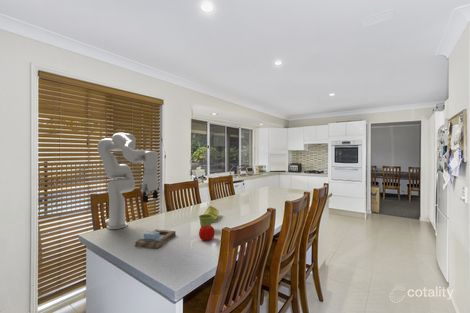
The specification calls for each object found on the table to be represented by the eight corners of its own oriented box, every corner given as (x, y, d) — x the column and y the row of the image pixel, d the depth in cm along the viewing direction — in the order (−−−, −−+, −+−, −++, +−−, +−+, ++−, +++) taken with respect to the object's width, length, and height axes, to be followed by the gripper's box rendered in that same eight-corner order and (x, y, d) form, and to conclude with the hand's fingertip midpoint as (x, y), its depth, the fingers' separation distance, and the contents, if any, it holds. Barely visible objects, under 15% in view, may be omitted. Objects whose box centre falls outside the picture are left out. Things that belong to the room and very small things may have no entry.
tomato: (206, 235, 142) (206, 223, 142) (217, 239, 136) (217, 226, 136) (195, 239, 134) (195, 227, 134) (205, 243, 129) (205, 230, 129)
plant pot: (215, 227, 156) (215, 214, 156) (210, 232, 147) (210, 218, 146) (201, 226, 158) (201, 213, 158) (196, 231, 149) (196, 217, 148)
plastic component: (216, 219, 167) (203, 213, 167) (211, 228, 168) (199, 222, 168) (219, 210, 186) (208, 204, 186) (215, 218, 187) (204, 212, 187)
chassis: (135, 246, 125) (135, 241, 125) (155, 233, 145) (155, 229, 145) (157, 248, 122) (157, 243, 122) (175, 235, 142) (175, 230, 142)
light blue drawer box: (140, 243, 128) (140, 232, 128) (144, 240, 132) (144, 229, 131) (159, 245, 125) (158, 233, 125) (162, 242, 129) (162, 230, 129)
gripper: (153, 170, 148) (153, 196, 149) (135, 173, 131) (135, 203, 132) (164, 170, 146) (163, 197, 147) (147, 173, 130) (147, 204, 130)
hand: (150, 200), depth 140 cm, fingers open, 9 cm apart
